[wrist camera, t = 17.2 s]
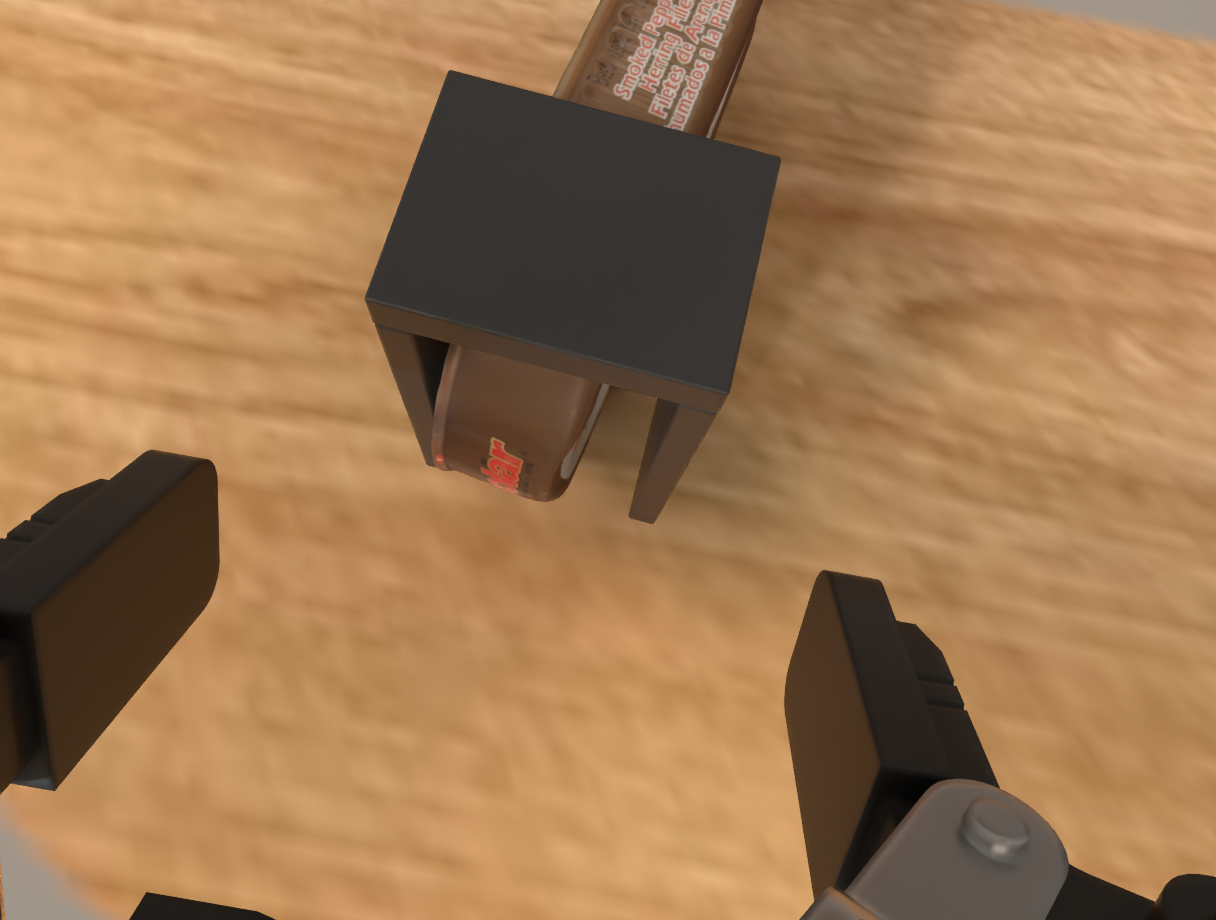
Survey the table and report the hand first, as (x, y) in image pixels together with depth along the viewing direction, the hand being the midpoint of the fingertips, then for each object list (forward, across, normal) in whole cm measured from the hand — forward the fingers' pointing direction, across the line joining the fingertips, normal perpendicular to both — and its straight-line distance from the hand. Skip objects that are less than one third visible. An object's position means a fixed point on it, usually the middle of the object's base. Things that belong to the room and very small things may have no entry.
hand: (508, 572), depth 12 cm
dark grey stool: (+9, 0, +1) cm, 9 cm away
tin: (+13, 0, -1) cm, 13 cm away
